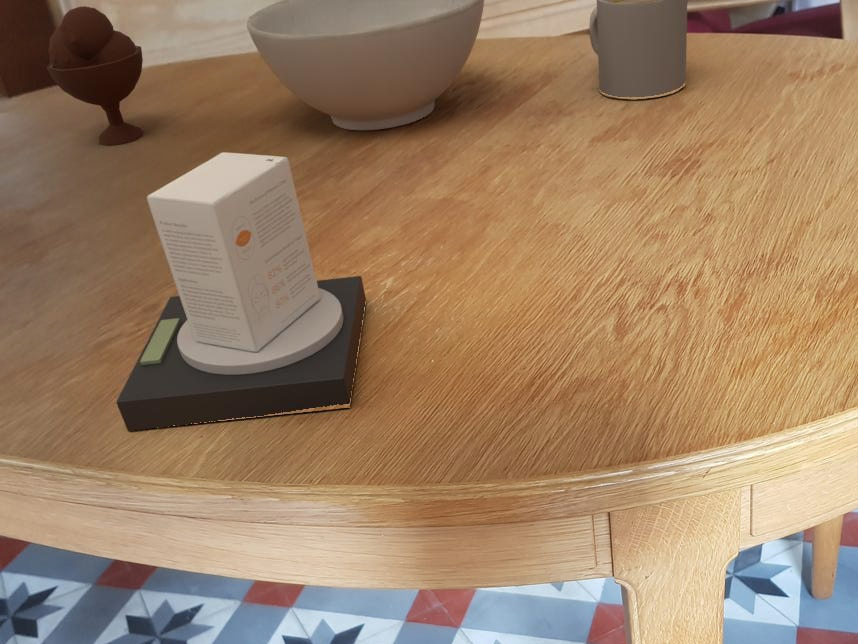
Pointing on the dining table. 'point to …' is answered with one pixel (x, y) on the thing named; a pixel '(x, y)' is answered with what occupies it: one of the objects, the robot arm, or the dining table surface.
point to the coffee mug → (640, 46)
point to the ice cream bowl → (96, 67)
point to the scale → (247, 366)
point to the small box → (236, 248)
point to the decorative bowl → (367, 54)
